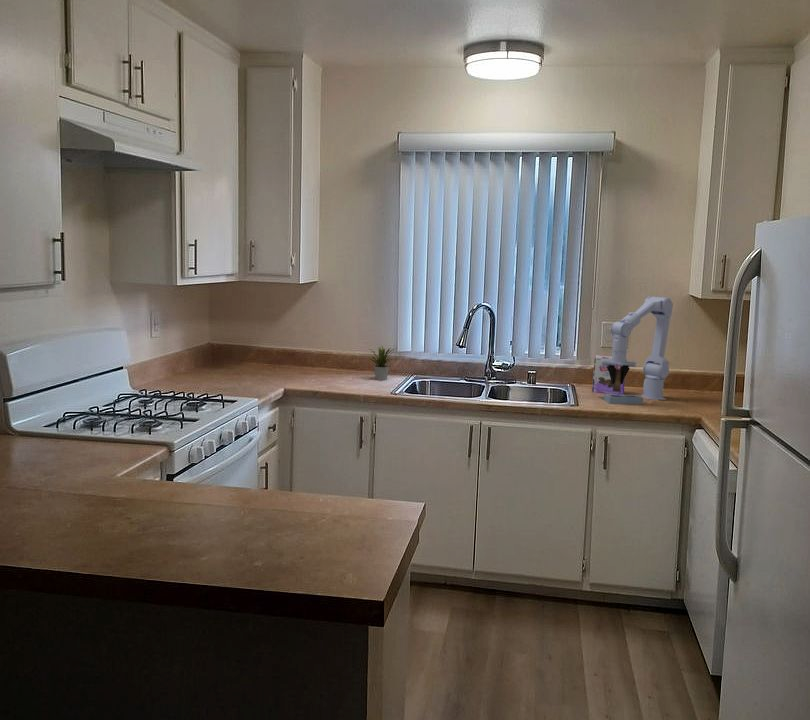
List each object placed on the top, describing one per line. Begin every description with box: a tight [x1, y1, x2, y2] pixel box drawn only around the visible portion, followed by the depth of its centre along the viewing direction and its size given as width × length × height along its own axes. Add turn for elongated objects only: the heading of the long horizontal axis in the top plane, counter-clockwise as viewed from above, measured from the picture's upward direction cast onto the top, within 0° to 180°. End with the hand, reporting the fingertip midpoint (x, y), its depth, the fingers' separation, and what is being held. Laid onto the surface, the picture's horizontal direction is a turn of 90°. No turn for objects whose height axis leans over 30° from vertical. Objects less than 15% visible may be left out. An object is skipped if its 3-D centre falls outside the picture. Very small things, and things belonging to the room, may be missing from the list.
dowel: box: [613, 369, 622, 392], centre depth 334 cm, size 3×3×9 cm
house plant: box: [369, 345, 395, 381], centre depth 372 cm, size 14×14×16 cm
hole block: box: [603, 393, 644, 405], centre depth 336 cm, size 7×14×3 cm, turn 94°
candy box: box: [591, 354, 628, 395], centre depth 358 cm, size 14×6×16 cm, turn 73°
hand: (616, 383), depth 335 cm, fingers closed on dowel, 3 cm apart
